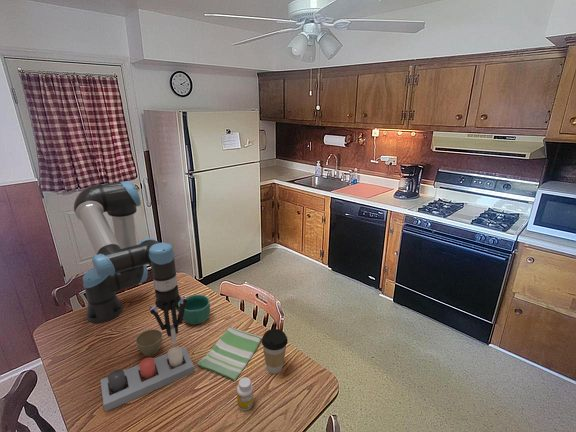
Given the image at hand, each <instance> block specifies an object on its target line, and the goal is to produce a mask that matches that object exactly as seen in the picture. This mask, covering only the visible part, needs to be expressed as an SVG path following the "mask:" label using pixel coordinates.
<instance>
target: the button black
mask: <svg viewBox="0 0 576 432" xmlns="http://www.w3.org/2000/svg"><path fill="white" fill-rule="evenodd" d="M107 377H108V381H109V386H110V389H109V391H110V393H111V395H112V394H115V393H117V392H119V391H122V390H124V389H126V388H128V387H127V385H128V383H127V382H126V379H125V375H124V369H120V368H117V369H115V370H112V371H111V372H109V374H108V375H107Z"/></svg>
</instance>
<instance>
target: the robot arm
mask: <svg viewBox="0 0 576 432" xmlns="http://www.w3.org/2000/svg"><path fill="white" fill-rule="evenodd" d="M141 203H142V202H141V198H140V194H139V192H138V188H137V187H136V185H135V184H134V183H133V182H132V181H130V180H126V181H118V182H117V181H116V182H111V183H110V182H109V183H102V184H94V185H90V186H87V187H86V188H84V189H83V190H82V191H80V192H79V193H78V195H77V196H76V198H75V200H74V203H73V211H74V214H75V216H76V218H77V219H78V220H80V221H81V222H82V224H83V227H84V230H85V232H86V235H87V236H88V238H89V241H90V243H91V246H92V248H93V250H94V252H95V255H94V256H92V258H91V259H92V266H93V267H92V268H91V269H89V270H87V271H86V272H85V273H84V275H83V276H82V283H83V284H82V286H83V288H84V292H85V296H86V299H87V307H86V311H85V312H86V314H85V315H86V319H87V321H88V322H90V323H92V324H100V323H101V324H102V323H105V322H110V321H112V320H113V319H115V318H117V317H119V316H120V314H121V313H123V310H124V307H123V304H122V301H121V300H120V299H119V298H118V296H117V293H116V292H118V291H121V290H124V289H127V288H131V287H133V286H134V287H135V286H137V285H140V284H142V283H144V282H145V281H147V279H148V273H149V272H148V266H147V265H149V266H150V270H151V275H152V279H153V287H154V293H155V304H154V305H153V306H150V307H149V308H148V309H149V312H150V314H151V315H153V316H154V317H155V320H156V321H157V324H158V325H159V327H160V330H161V331H165V330H166V335H167V337H170V341H171V343H172V345H174V344H177V334H179V325H182V324H183V321H184V318H183V316H184V310H185V305H186V303H187V299H186V298H187V297H186V296H181V295H180V293H179V286H178V285H179V284H178V278H177V270H176V263H175V252H174V247H173V246H172V244H170V243H169V242H160V241H158V240H156V239H154V238H151V237H150V238H149V237H147V238H144V239H142V240H140V241H139V243H138V244H137V236H136V235H137V233H136V226H135V218H134V216H135V214H136V213H137V207H140V206H141ZM104 213H107V215H108V216H110V217H111V219H112V227H113V230H112V228H111V227H110V224H109V223H108V221H107V218H106V216H105V214H104ZM179 301H180V305H179V304H178V303H179ZM177 305H179V312H178V311H177V310H176V306H177ZM158 309H159V310H161V311H162V312H163V319H164V323H163V320H162V319H161V317H160V315H159V313H158ZM169 311H170V313H171V319H172V320H171V321H172V324H171V323H170V315H169ZM177 313H178V314H177Z"/></svg>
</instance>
